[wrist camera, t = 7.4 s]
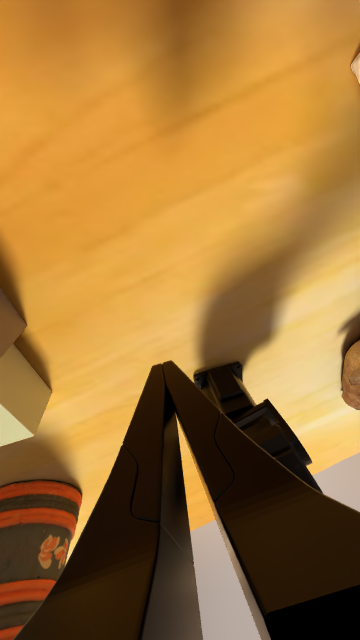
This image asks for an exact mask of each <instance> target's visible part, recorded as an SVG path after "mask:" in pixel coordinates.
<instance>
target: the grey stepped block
mask: <svg viewBox="0 0 360 640" xmlns="http://www.w3.org/2000/svg"><path fill="white" fill-rule="evenodd" d="M26 327H27V324H26V323H25V322H24V320H23V319H22V317H21V316H20V315H19V313H18V312H17V310H16V309H15V308H14V306H13V305H12V303H11V302H10V301H9V299H8V298H7V296H6V295H5V293H4V292H3V291H2V289H1V288H0V358H1V357H2V356H3V355H4V354H5V352H6V351H7V350H8V349H9V347H10V346H11V345H12V344H13V343H14V341H15V340H16V339H17V338H18V337H19V335H20V334H21V333H22V332H23V330H24V329H25V328H26Z"/></svg>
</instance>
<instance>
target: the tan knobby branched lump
mask: <svg viewBox="0 0 360 640" xmlns="http://www.w3.org/2000/svg"><path fill="white" fill-rule="evenodd" d="M342 387H343V393H342V398H343V399H344V401H345V402H346V403H347V404H348V405H349V406H351V407H353V408H355V409H357V410H360V340H359V341H357V342H356V343H355V344H353V345H352V346H351V348H350V349H349V350H348V351H347V353H346V355H345V360H344V370H343V376H342Z"/></svg>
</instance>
